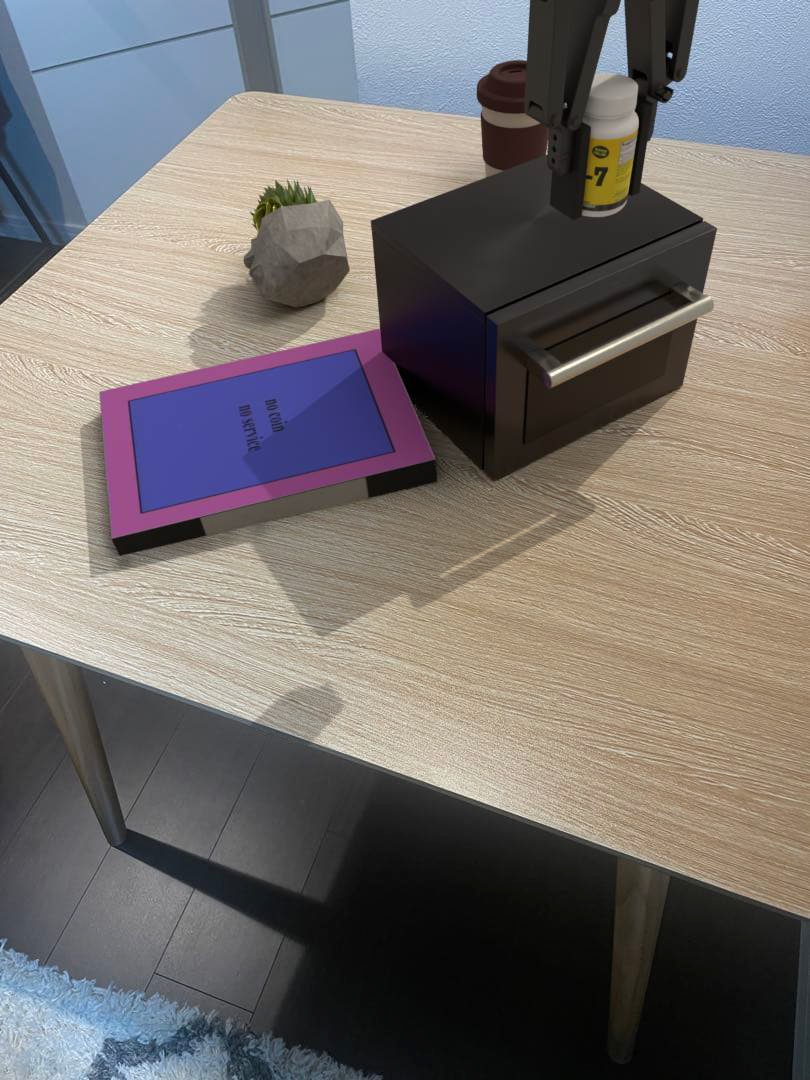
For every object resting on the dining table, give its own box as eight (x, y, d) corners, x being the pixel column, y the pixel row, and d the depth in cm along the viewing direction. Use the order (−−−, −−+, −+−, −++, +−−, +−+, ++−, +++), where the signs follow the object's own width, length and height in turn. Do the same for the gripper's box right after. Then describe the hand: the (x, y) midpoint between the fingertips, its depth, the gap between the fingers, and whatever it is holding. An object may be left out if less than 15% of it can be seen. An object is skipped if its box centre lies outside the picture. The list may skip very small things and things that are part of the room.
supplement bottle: (548, 205, 67) (557, 88, 61) (584, 179, 69) (596, 63, 63) (604, 226, 65) (619, 106, 59) (639, 198, 67) (657, 80, 61)
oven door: (709, 405, 92) (750, 246, 78) (518, 505, 84) (527, 347, 71) (671, 377, 95) (704, 220, 82) (483, 472, 87) (485, 315, 74)
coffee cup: (535, 211, 118) (542, 92, 107) (464, 198, 121) (464, 81, 110) (560, 176, 124) (569, 59, 113) (492, 164, 127) (494, 50, 116)
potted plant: (244, 311, 101) (194, 220, 107) (324, 334, 111) (274, 249, 117) (309, 229, 95) (252, 136, 101) (387, 260, 105) (331, 174, 111)
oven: (670, 377, 95) (703, 218, 82) (482, 471, 87) (484, 312, 74) (560, 297, 105) (574, 144, 92) (383, 375, 98) (370, 220, 84)
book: (99, 391, 94) (379, 328, 98) (108, 413, 97) (382, 350, 100) (111, 538, 81) (435, 459, 84) (121, 560, 83) (437, 481, 87)
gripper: (710, -240, 54) (650, 144, 72) (466, -187, 49) (465, 216, 66) (810, -222, 50) (720, 181, 68) (556, -161, 44) (529, 262, 62)
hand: (594, 198), depth 67 cm, fingers closed on supplement bottle, 5 cm apart
